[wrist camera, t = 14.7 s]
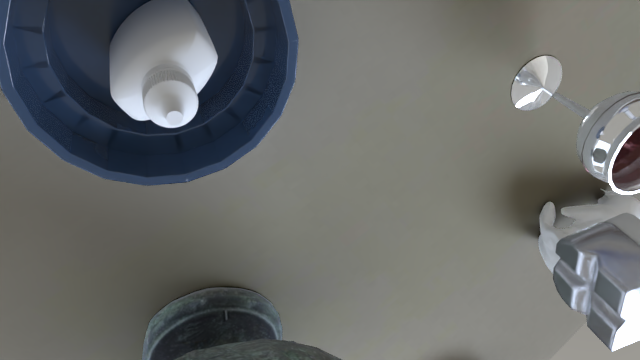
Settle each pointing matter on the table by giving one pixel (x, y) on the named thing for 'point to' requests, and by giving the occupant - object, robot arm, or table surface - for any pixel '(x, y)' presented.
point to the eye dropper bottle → (161, 62)
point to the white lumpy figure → (580, 220)
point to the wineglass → (590, 124)
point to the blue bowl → (115, 124)
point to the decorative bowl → (222, 329)
